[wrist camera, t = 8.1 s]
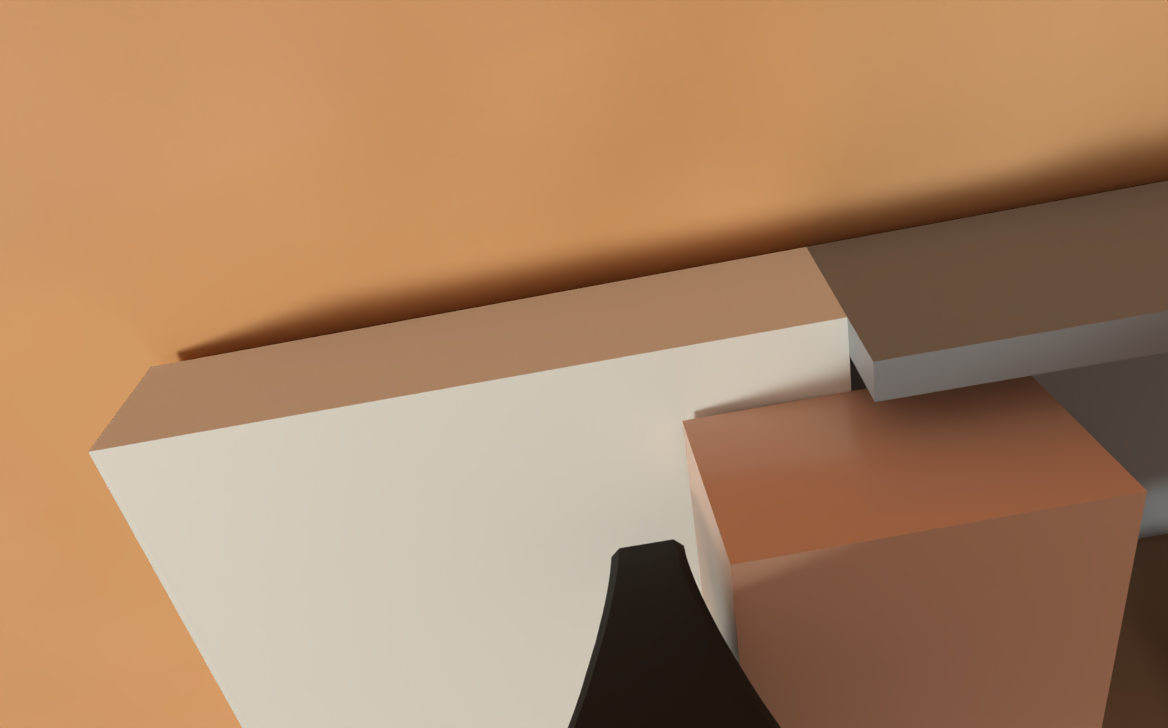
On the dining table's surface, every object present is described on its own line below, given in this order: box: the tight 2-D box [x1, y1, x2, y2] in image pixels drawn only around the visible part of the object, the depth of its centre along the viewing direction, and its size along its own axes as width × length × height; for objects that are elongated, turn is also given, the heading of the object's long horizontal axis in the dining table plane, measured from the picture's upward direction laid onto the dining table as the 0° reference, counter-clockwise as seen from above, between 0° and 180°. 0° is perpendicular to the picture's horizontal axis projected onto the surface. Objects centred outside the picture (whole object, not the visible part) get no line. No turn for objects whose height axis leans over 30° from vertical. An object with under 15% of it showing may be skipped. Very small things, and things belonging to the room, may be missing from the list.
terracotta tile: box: [682, 376, 1147, 728], centre depth 11 cm, size 4×4×2 cm
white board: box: [88, 247, 851, 728], centre depth 14 cm, size 11×9×2 cm
